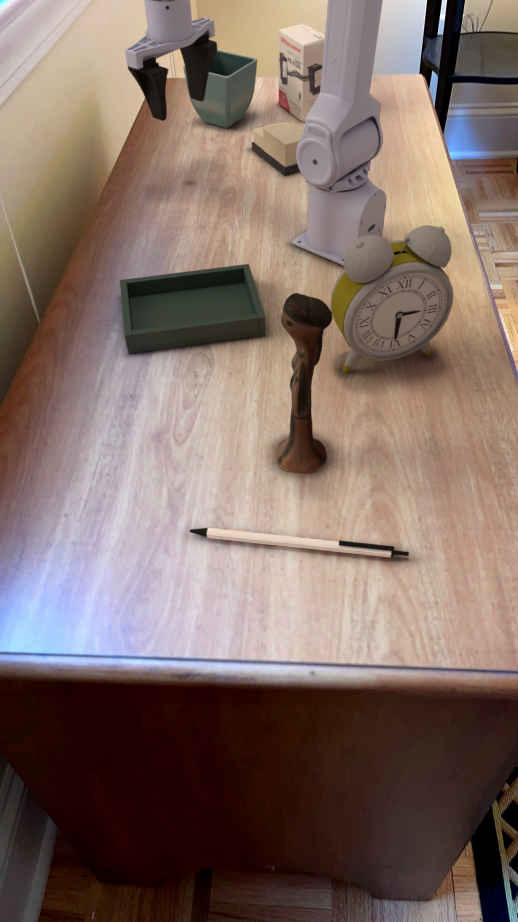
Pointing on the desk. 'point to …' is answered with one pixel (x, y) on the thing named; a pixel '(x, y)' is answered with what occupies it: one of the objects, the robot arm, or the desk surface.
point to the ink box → (300, 68)
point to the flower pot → (227, 89)
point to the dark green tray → (191, 308)
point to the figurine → (303, 382)
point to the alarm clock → (393, 294)
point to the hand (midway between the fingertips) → (178, 108)
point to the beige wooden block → (278, 146)
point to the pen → (300, 542)
